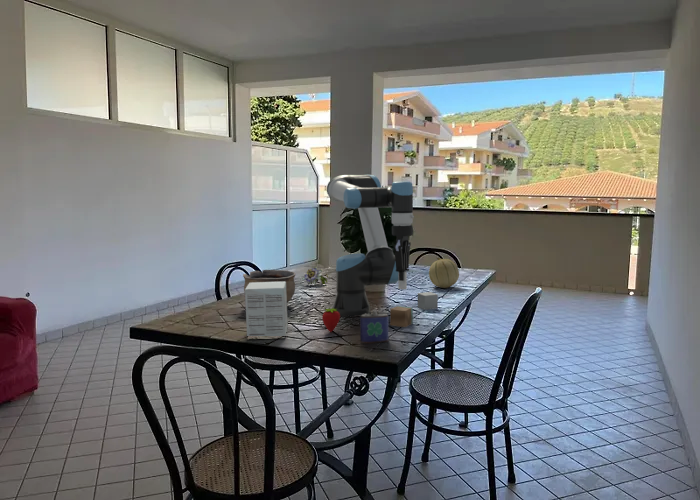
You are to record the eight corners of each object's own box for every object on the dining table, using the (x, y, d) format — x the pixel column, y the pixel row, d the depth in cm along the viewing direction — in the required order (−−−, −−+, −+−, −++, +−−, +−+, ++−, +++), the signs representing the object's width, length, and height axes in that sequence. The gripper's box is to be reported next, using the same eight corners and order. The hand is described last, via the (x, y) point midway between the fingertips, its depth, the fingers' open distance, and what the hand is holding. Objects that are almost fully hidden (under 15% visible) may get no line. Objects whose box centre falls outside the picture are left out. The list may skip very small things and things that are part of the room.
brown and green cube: (412, 323, 187) (405, 327, 182) (398, 321, 191) (390, 325, 186) (412, 307, 187) (404, 310, 182) (398, 305, 190) (390, 309, 185)
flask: (388, 340, 167) (387, 308, 166) (389, 342, 164) (389, 310, 163) (360, 341, 166) (359, 309, 165) (361, 344, 164) (360, 311, 162)
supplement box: (251, 330, 183) (249, 282, 181) (288, 328, 184) (286, 280, 182) (246, 340, 170) (243, 289, 168) (286, 339, 171) (284, 287, 169)
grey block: (424, 310, 208) (424, 295, 207) (417, 307, 214) (417, 293, 213) (437, 308, 210) (437, 294, 209) (430, 305, 216) (430, 291, 215)
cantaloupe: (459, 290, 246) (459, 260, 244) (428, 290, 248) (428, 259, 247) (458, 285, 260) (458, 256, 259) (429, 284, 263) (428, 256, 261)
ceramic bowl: (268, 300, 233) (266, 267, 231) (306, 304, 222) (305, 270, 220) (233, 310, 214) (232, 275, 213) (274, 316, 203) (272, 278, 201)
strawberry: (344, 330, 180) (343, 302, 179) (334, 335, 173) (333, 307, 172) (329, 328, 183) (328, 301, 181) (318, 334, 176) (318, 305, 175)
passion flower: (310, 296, 267) (297, 278, 267) (320, 288, 277) (306, 271, 277) (325, 285, 262) (311, 267, 262) (334, 278, 271) (320, 260, 271)
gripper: (406, 226, 177) (406, 293, 180) (417, 223, 188) (417, 286, 191) (386, 225, 180) (386, 291, 183) (398, 223, 191) (398, 284, 195)
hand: (402, 288), depth 187 cm, fingers closed
